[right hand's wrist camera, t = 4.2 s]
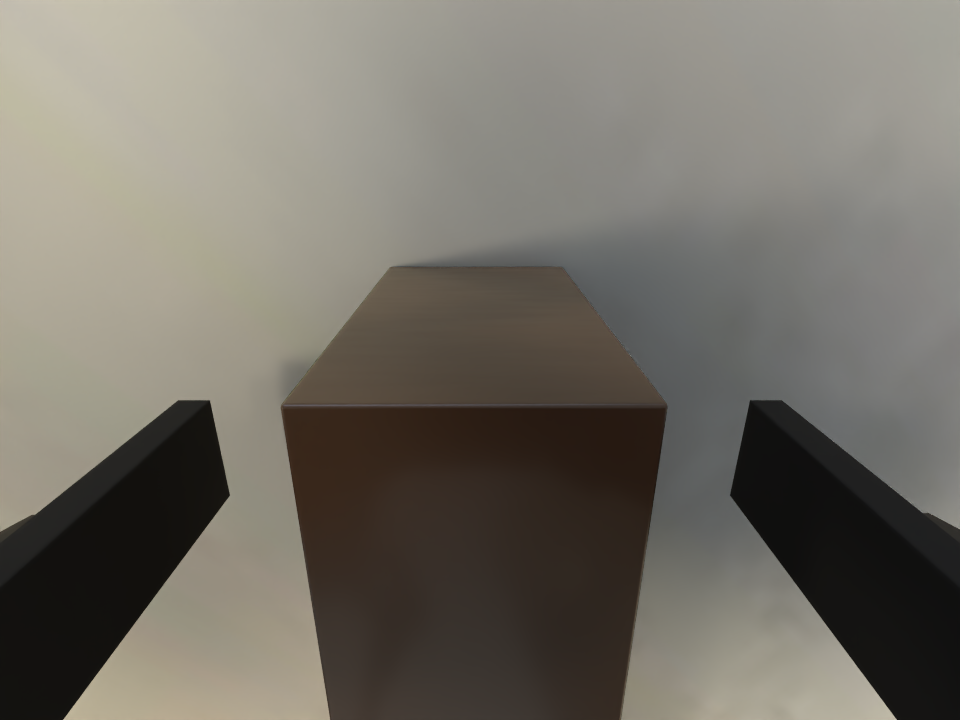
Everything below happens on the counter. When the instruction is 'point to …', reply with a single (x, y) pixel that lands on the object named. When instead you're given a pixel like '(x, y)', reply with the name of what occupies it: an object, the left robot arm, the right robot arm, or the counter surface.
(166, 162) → the counter surface
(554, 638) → the walnut beam
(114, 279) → the counter surface
